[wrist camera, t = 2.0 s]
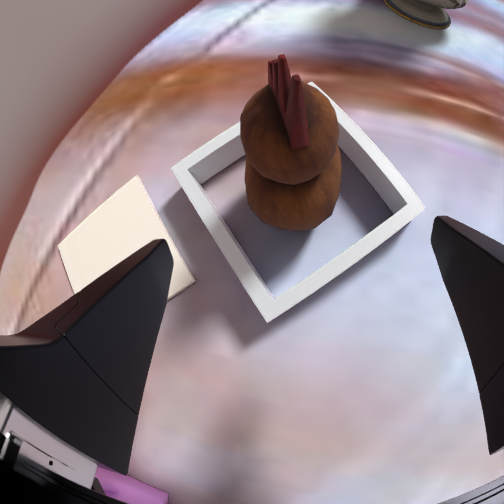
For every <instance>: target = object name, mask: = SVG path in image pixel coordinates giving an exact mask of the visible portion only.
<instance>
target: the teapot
mask: <svg viewBox="0 0 504 504" xmlns="http://www.w3.org/2000/svg"><path fill="white" fill-rule="evenodd" d="M95 477H96V478H98V480H99V482H100V484H101V486H102V488H103V490H104V492H105V494H106V495H107V496H109V497H112V498H115V499H118V500H121V501H123V502H126V503H129V504H168V498H169V493H166V492H164V491H162V490H159V489H157V488H155V487H152V486H150V485H148V484H146V483H143V482H141V481H139V480H137V479H135V478H133V477H131V476H129V475H127V476H125V475H121V474H118V473H115V472H112V471H109V470H106V469H103V468H100V467H97V470H96V474H95Z"/></svg>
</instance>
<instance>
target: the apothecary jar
mask: <svg viewBox="0 0 504 504" xmlns="http://www.w3.org/2000/svg"><path fill="white" fill-rule="evenodd" d="M384 2H385V3H386V5H387V6H388V7H389V8H390V9H392V10H393V11H394V12H396V13H397V14H398V15H400V16H402V17H404V18H406V19H407V20H410V21H412V22H414V23H417V24H419V25H423V26H426V27H430V28H435V29H443V28H447V27H448V26H450V24H451V20H450V17H449V15H448V14H447V12H446V11H445V10H444V9H443V8H446V9H457V8H462V7H464V6H465V5H466V4H467V2H468V0H384Z"/></svg>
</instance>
